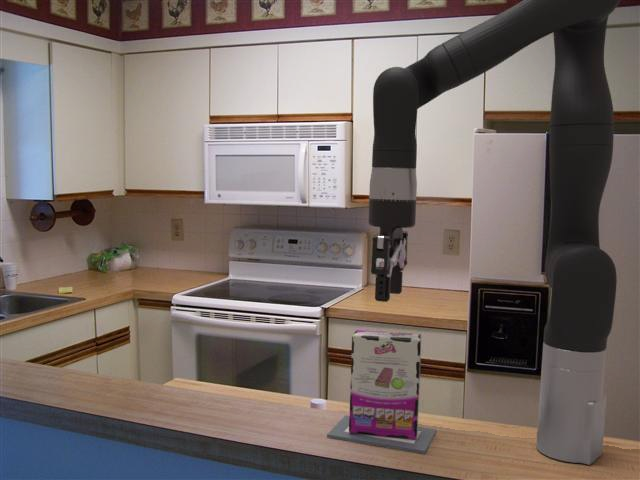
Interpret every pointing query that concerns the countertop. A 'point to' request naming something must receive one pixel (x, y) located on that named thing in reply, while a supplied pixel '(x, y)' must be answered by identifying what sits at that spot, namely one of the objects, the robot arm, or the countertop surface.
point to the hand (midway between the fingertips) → (388, 297)
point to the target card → (384, 438)
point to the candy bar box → (385, 384)
